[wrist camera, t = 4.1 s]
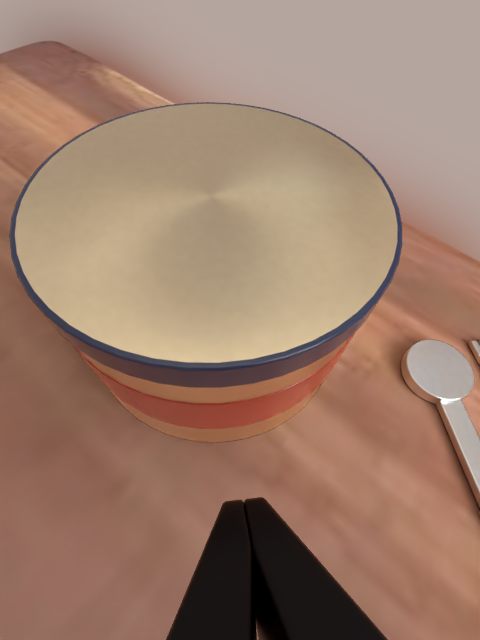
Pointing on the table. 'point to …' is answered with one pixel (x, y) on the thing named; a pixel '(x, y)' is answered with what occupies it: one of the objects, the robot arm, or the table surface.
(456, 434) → the spoon
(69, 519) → the table surface
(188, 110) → the tin
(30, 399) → the table surface
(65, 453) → the table surface
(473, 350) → the fork
